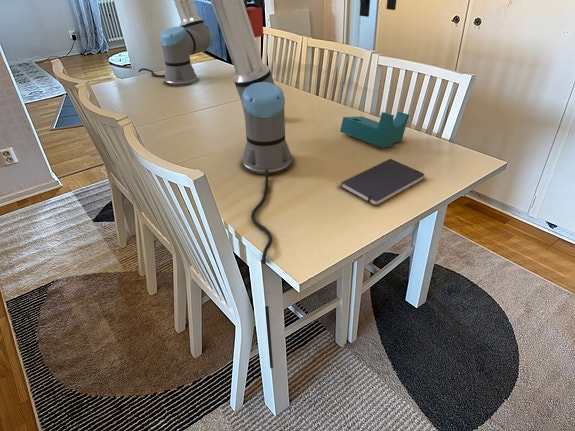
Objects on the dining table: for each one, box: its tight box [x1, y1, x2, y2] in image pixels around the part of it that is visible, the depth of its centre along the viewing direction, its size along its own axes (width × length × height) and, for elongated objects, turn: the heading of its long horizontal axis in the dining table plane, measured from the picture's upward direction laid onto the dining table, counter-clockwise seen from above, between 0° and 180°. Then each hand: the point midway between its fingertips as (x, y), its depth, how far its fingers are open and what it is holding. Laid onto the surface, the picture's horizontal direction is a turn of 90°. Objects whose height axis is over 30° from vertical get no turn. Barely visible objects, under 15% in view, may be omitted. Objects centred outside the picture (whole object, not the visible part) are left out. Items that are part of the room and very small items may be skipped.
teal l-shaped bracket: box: [339, 111, 410, 149], centre depth 136 cm, size 18×11×10 cm, turn 43°
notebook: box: [340, 158, 425, 206], centre depth 114 cm, size 13×2×21 cm
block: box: [246, 6, 264, 39], centre depth 171 cm, size 7×6×11 cm
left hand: (252, 28), depth 172 cm, fingers closed on block, 6 cm apart
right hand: (377, 12), depth 119 cm, fingers open, 13 cm apart
